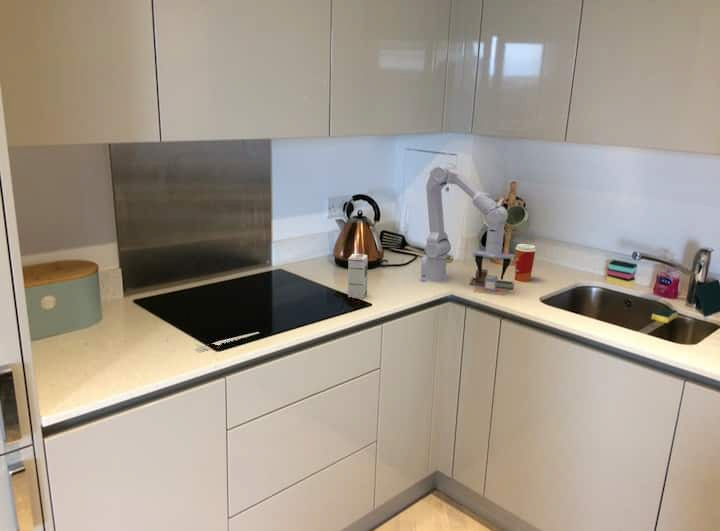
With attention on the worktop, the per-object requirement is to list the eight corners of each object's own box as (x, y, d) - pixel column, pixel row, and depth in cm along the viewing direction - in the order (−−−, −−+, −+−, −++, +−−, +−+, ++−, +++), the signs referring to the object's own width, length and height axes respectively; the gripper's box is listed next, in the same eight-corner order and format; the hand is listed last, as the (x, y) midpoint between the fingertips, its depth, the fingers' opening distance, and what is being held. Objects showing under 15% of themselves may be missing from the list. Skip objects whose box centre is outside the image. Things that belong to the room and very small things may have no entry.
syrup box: (364, 299, 204) (365, 258, 200) (347, 297, 205) (348, 257, 201) (367, 294, 210) (368, 254, 206) (350, 292, 211) (351, 253, 207)
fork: (262, 336, 173) (262, 330, 172) (200, 353, 159) (200, 347, 159) (256, 333, 175) (256, 327, 174) (194, 349, 161) (194, 343, 161)
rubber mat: (473, 292, 214) (473, 291, 214) (475, 287, 221) (475, 285, 221) (504, 296, 211) (505, 294, 211) (505, 290, 218) (505, 289, 218)
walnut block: (474, 284, 223) (476, 271, 222) (475, 281, 227) (477, 268, 225) (485, 285, 222) (486, 272, 221) (486, 282, 226) (487, 269, 224)
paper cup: (516, 276, 236) (519, 242, 232) (535, 280, 231) (539, 245, 228) (509, 281, 229) (512, 246, 225) (528, 285, 225) (532, 249, 221)
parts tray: (469, 286, 222) (469, 282, 222) (471, 280, 229) (471, 277, 229) (512, 290, 218) (512, 287, 218) (513, 284, 225) (513, 281, 225)
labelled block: (483, 291, 215) (485, 277, 213) (484, 287, 218) (486, 274, 217) (495, 292, 213) (496, 279, 212) (496, 289, 217) (497, 275, 216)
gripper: (472, 241, 209) (469, 278, 213) (515, 245, 205) (511, 283, 209) (474, 237, 216) (471, 273, 219) (515, 241, 212) (511, 277, 216)
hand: (491, 277), depth 215 cm, fingers open, 7 cm apart
